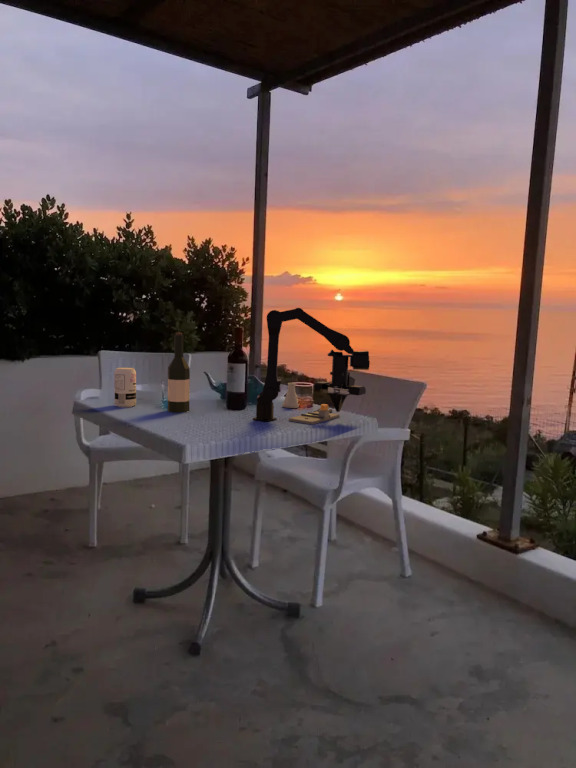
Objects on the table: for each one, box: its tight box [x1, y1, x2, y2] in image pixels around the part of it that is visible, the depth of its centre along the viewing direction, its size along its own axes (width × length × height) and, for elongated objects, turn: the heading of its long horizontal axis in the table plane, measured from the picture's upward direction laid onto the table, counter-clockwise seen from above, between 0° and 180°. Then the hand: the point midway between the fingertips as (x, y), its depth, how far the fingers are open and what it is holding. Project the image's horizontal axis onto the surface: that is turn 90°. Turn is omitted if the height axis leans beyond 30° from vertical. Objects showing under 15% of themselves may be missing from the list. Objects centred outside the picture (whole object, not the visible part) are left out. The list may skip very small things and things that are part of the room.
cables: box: [313, 406, 333, 413], centre depth 234 cm, size 9×4×2 cm, turn 147°
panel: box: [288, 410, 340, 425], centre depth 221 cm, size 20×10×2 cm, turn 147°
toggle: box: [319, 403, 329, 418], centre depth 219 cm, size 3×3×4 cm
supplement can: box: [113, 366, 137, 408], centre depth 235 cm, size 8×8×15 cm
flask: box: [281, 382, 300, 409], centre depth 245 cm, size 7×7×10 cm
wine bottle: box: [167, 332, 191, 414], centre depth 227 cm, size 8×8×30 cm
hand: (338, 411), depth 216 cm, fingers closed
